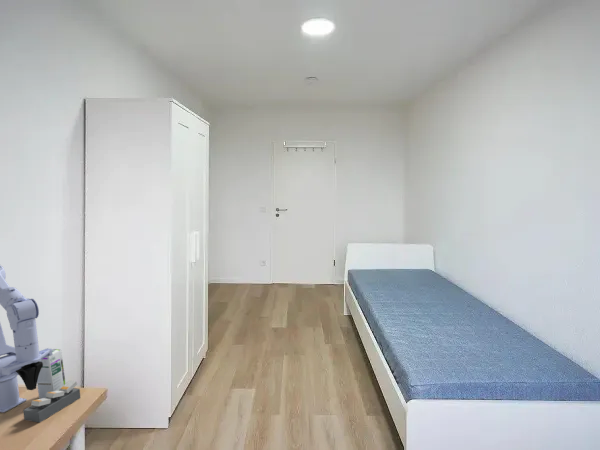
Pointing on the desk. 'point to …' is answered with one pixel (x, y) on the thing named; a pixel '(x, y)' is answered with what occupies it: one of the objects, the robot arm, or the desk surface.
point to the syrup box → (51, 374)
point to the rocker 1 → (40, 402)
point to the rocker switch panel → (51, 406)
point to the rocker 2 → (55, 394)
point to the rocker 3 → (68, 386)
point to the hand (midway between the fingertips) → (31, 388)
